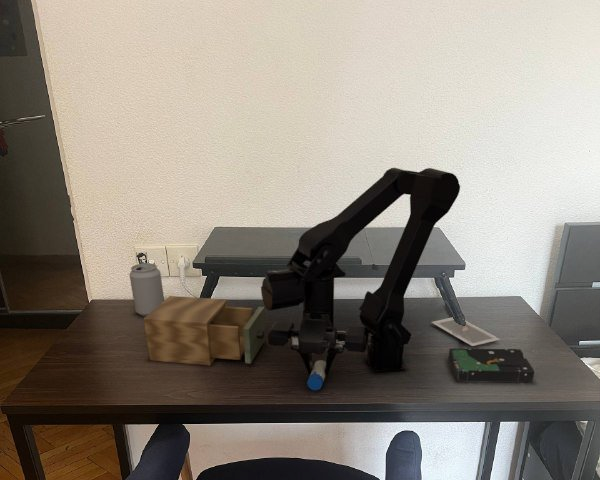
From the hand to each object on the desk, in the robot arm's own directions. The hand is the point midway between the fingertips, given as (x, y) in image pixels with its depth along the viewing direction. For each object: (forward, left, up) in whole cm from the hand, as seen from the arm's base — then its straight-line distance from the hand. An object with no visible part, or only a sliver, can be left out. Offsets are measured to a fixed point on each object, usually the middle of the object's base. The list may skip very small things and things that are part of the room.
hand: (318, 375), depth 115 cm
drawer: (+16, -15, 0) cm, 22 cm away
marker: (0, 0, -1) cm, 1 cm away
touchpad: (-37, -16, -1) cm, 40 cm away
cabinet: (+25, -19, -1) cm, 32 cm away
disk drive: (-35, +2, -1) cm, 35 cm away
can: (+36, -43, -1) cm, 56 cm away
